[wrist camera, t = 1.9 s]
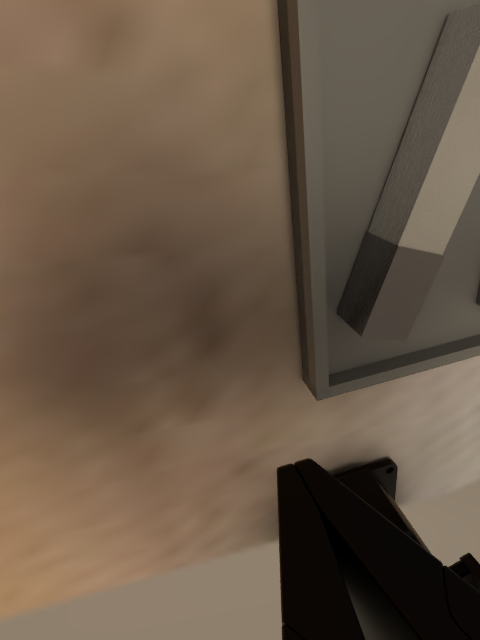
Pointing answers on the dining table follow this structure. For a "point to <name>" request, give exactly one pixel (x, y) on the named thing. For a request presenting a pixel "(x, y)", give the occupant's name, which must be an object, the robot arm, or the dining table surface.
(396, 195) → the bar
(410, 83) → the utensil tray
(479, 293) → the tongs fixed body
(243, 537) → the dining table surface
